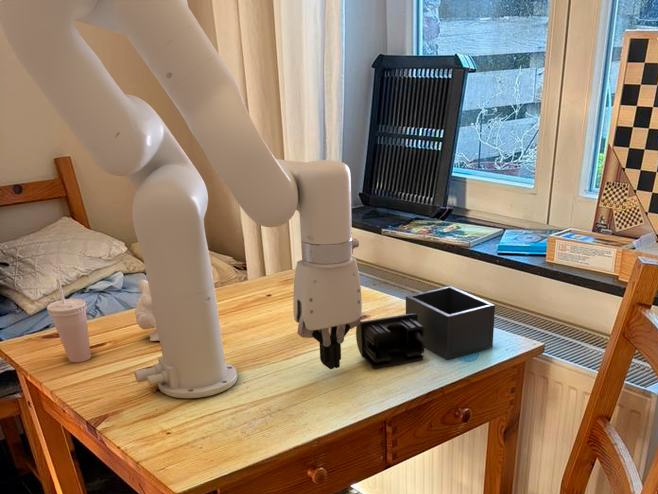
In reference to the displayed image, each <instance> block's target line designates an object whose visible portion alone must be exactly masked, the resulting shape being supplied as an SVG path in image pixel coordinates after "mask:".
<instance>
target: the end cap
mask: <svg viewBox="0 0 658 494" xmlns="http://www.w3.org/2000/svg"><path fill="white" fill-rule="evenodd" d="M355 328H356V329H355V339H356V346H357V349H358V352H359V354H360V356H361V357H362V358H363V359H364V361H365V362H366V363H367V365H369V366H370V368H371V369H373V370H381V369H385V368H386V369H387V368H392V367H397V366H403V365H408V364H414V363H418V362H423V361H424V355H423V354H424V353H425V344H424V343H423V342H422V341H421V340H420V339H419V338H418V333H419V334H420V335H421V336H422V337H423V336H425V329H424V327H423V326H422V325H420V324H419V323H418V316H417V314H415V313H411V314H406V313H405V314H399V315H395V316H393V315H392V316H387V317H381V318H375V319H370V320H362V321H361V323H360V325H358V326H356V327H355Z"/></svg>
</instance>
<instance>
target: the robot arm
mask: <svg viewBox="0 0 658 494" xmlns="http://www.w3.org/2000/svg"><path fill="white" fill-rule="evenodd" d="M75 22H78V23H82V24H86V25H89V26H93V27H96V28H100V29H103V30H106V31H110V32H113V33H117V34H120V35H124V36H125V37H126V38H127V39H128V40H129V42H130V43H131V45H132V46H133V47H134V49H135V50H136V52H137V54H138V55H139V56H140V57H141V59H142V61H143V62H144V63H145V64H146V66H147V68H148V69H149V70H150V72H151V73H152V75H153V76H154V77H155V79H156V80H157V82H158V83H159V84H160V86H161V88H162V89H163V90H164V91H165V93H166V94H167V96H168V97H169V99H170V101H172V103H173V104H174V106H175V107H176V109H177V110H178V112H179V114H180V115H181V116H182V118H183V120H184V121H185V123H186V125H187V127H188V129H189V131H190V133H191V134H192V135H193V137H194V138H195V140H196V141H197V143H198V144H199V147H200V148H201V149H202V151H203V153H204V154H205V156H206V158H207V159H208V161H209V163H210V164H211V166H212V168H213V169H214V171H215V173H216V174H217V175H218V177H219V178H220V180H221V181H222V183H223V184H224V185H225V187H226V188H227V189H228V191H229V192H230V194H231V195H232V197H233V199H234V200H235V201H236V202H237V204H238V206H240V208H241V209H242V211H243V212H244V213H245V215H246V216H247V217H248V218H249V219H250V220H251V221H253V222H254V223H255V224H257V225H258V226H261V227H264V228H279V227H281V226H283V225H285V224H287V222H289V221H290V220H291V219H293V216H294V215H295V213H296V211H297V212H298V214H299V227H300V246H301V247H300V248H301V259H299V260H297V261H296V264H295V271H294V280H293V296H292V297H293V298H292V300H293V301H292V302H293V305H292V306H293V308H292V309H293V320H294V321H295V322H296V323H298V326H297V335H298V336H299V337H301V338H304V339H315V340H316V341H317V342H318V344H319V360H320V362H321V364H322V365H323V366H325V367H326V368H327V369H329V370H334V369H338V368H341V359H342V344H343V343H344V341H345V337H346V335H347V334H348V333H349V331H350V330H352V329H355V328H357V326H358V325H360V323H361V322H362V321H361V317H362V312H363V311H362V310H363V300H362V299H363V298H362V289H361V287H362V286H361V279H360V272H359V269H358V268H359V267H358V263H357V259H356V257H354V256H353V255H354V249H357V248H359V246H360V242H359V239H358V238H353V232H352V231H353V227H352V225H353V224H352V178H351V177H352V176H351V170H350V167H349V166H348V165H347V164H346V163H344V162H342V161H339V160H335V159H334V160H333V159H331V160H330V159H319V160H317V159H316V160H310V161H294V160H287V159H279V158H276V157H275V155H273V152H272V151H271V149H270V148H269V146H268V145H267V143H266V141H264V138H263V136H262V135H261V134H260V132H259V130H258V129H257V126H256V125H255V123H254V121H253V119H252V118H251V115H250V113H249V111H248V108H247V107H246V103H245V101H244V98H243V95H242V92H241V89H240V87H239V85H238V82H237V81H236V79H235V77H234V75H233V73H232V71H231V70H230V69H229V67H228V65H227V64H226V63H225V61H224V60H223V58H222V57H221V55H220V53H219V52H218V51H217V49H216V48H215V47H214V45H213V43H212V42H211V40H210V39H209V37H208V35H207V34H206V33H205V31H204V29H203V28H202V26H201V24H200V23H199V21H198V20H197V18H196V17H195V15H194V13H193V12H192V10H191V9H190V7H189V3H188V0H0V26H1V28H2V31H3V33H4V37H5V38H6V41H7V43H8V44H9V47H10V48H11V50H12V51H13V53H14V55H15V57H16V58H17V60H18V61H19V63H20V64H21V65H22V67H23V68H24V70H25V71H26V72H27V74H28V75H29V77H30V78H31V79H32V81H34V83H35V84H36V86H37V87H38V88H39V89H40V91H41V92H42V93H43V95H44V96H45V98H46V99H47V100H48V101H49V103H50V105H51V106H52V107H53V109H54V110H55V112H56V113H57V114H58V116H59V117H60V118H61V120H62V121H63V122H64V123H65V125H66V126H67V127H68V129H69V130H70V131H71V133H72V134H73V136H74V137H75V138H76V139H77V141H78V143H80V145H81V146H82V148H83V149H84V150H85V151H86V153H87V155H88V156H89V158H90V159H91V160H92V161H93V163H94V164H95V165H96V166H97V167H99V169H101V170H102V171H104V172H106V173H107V174H110V175H112V176H116V177H125V178H126V179H127V180H128V182H129V183H130V184H131V186H132V187H133V188H134V190H135V194H134V196H133V201H132V209H131V210H132V211H131V213H132V215H131V216H132V223H133V229H134V232H135V236H136V239H137V242H138V246H139V248H140V250H139V251H140V253H141V256H142V260H143V264H144V269H145V274H146V279H147V282H148V284H149V289H150V293H151V299H152V304H153V309H154V314H155V319H156V324H157V330H158V335H159V344H160V345H159V346H160V350H161V355H162V356H158V357H157V361H158V363H154V364H153V367H152V366H151V367H147V368H141V369H136V370H134V371H133V373H134V378H135V381H136V382H137V383H138V384H140V383H143V382H147V383H148V385H149V386H151V385H156V384H157V387H158V390H159V391H160V392H161V393H163V394H165V395H166V396H169V397H172V398H177V399H198V398H199V399H200V398H205V397H210V396H214V395H217V394H220V393H222V392H225V391H226V390H229V389H230V388H232V387H233V386H234V385H235V384H236V383H237V381H238V371H237V369H236V368H235V366H233V365H232V364H230V363H228V362H226V356H225V350H224V343H223V335H222V329H221V322H220V314H219V307H218V301H217V294H216V288H215V287H216V286H215V282H214V275H213V269H212V261H211V256H210V251H209V245H208V241H207V236H206V228H205V217H206V213H207V209H208V207H209V206H208V205H209V193H208V189H207V186H206V183H205V181H204V179H203V178H202V176H201V174H200V173H199V171H198V170H197V168H196V167H195V165H194V164H193V162H192V161H191V159H190V158H189V156H188V155H187V154H186V152H185V150H184V149H183V148H182V147H181V145H180V144H179V142H178V141H177V139H176V138H175V136H174V135H173V134H172V131H170V129H169V128H168V126H167V125H166V123H165V121H164V120H163V119H162V118H161V116H160V115H159V114H158V112H156V111H155V110H154V108H153V107H152V106H151V105H150V104H148V103H147V102H146V101H145V100H143V99H141V98H140V97H138V96H135V95H133V94H129V93H124V92H123V90H122V89H121V88H120V86H119V85H118V84H117V82H116V81H115V80H114V78H113V77H112V76H111V74H110V73H109V71H108V70H107V68H106V67H105V65H104V64H103V62H102V60H100V58H99V57H98V55H97V54H96V53H95V51H94V50H93V49H92V48H91V47H90V46H89V44H88V43H87V42H86V40H85V39H84V38H83V37H82V35H81V34H80V32H79V29H78V28H77V26H76V23H75Z"/></svg>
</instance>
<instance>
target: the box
mask: <svg viewBox="0 0 658 494" xmlns="http://www.w3.org/2000/svg"><path fill="white" fill-rule="evenodd" d="M495 311H496V304H494V303H491V302H489V301H486V300H484V299H482V298H480V297H478V296H475V295H473V294H471V293H468V292H466V291H463V290H461V289H460V288H457V287H454V286H452V285H448V286H444V287H440V288H439V287H438V288H436V289H432V290H431V289H430V290H426V291H422V292H418V293H414V294H410V295H406V296H405V314H411V313H415V314H417V316H418V323H419V324H420V325H422V326H423V327H424V329H425V336H423V337H422V336H421V335H420V334H419V333H418V338H419V339H420V340H421V341H422V342H423V343H424V344H425V348H424V350H425V349H426V350H427V351H429V352H431V353H433V354H434V355H436V356H438V357H439V358H441V359H443V360H445V361H450V360H454V359H458V358H462V357H466V356H469V355H472V354H476V353H479V352H483V351H486V350H490V349H493V348H494V331H495Z"/></svg>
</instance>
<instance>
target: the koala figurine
mask: <svg viewBox="0 0 658 494" xmlns="http://www.w3.org/2000/svg"><path fill="white" fill-rule="evenodd" d="M138 289H139V291H140V292H141V294H140V297H139V298H138V299H137V303H136V306H135V310H134V314H135V321H136V323H137V325H138V326H139V328H140V329H142V330H145V331H147V330H151V329H152V330H153V331H150V332H148V337H149V341H150V342H158V341H159V342H160V340H159V335H158V330H157V324H156V319H155V314H154V309H153V304H152V299H151V293H150V289H149V284H148V280H146V279H140V280H139V282H138ZM154 329H155V330H154Z"/></svg>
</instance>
